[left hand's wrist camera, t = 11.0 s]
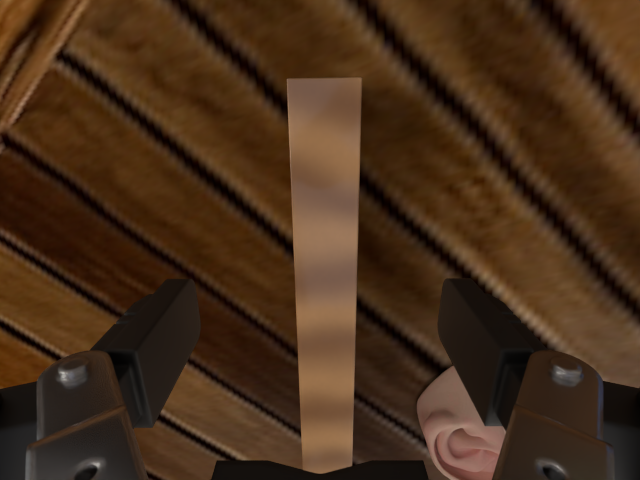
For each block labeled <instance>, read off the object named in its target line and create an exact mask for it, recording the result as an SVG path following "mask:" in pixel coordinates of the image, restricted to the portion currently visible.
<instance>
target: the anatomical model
mask: <svg viewBox="0 0 640 480" xmlns="http://www.w3.org/2000/svg"><path fill="white" fill-rule="evenodd" d="M417 413H418V418H419V422H420V426H421V429H422V432H423V434H424V437H425V439H426V442H427V446H428V450H429V453H430V456H431V458H432V460H433V462H434V464H435V466H436V467H437V468H438V469H439V471H440V472H441V473H443V474H444V475H445V476H446V477H448V478H449V479H451V480H492V477H493V474H494V470H495V467H496V464H497V460H498V457H499V454H500V450H501V447H502V444H503V441H504V437H505V434H506V431H505V429H504V428H503V426H484V424H483V422H482V420H481V418H480V416H479V414H478V412H477V410H476V408H475V406H474V404H473V402H472V400H471V398H470V397H469V395H468V393H467V391H466V389H465V387H464V385H463V383H462V381H461V379H460V377H459V375H458V373H457V371H456V369H455V367H454V365H453V366H451V367H450V368H448V369H447V370H446V371H444V372H443V373H442V374H441V375H440V376H439V377H437V378H436V379H435V380H434V381H433V382H432V383H431V384H430V385H429V386H428V387H427V388H426V389H425V391H424V392H423V393H422V394H421V396H420V397H419V399H418V402H417Z"/></svg>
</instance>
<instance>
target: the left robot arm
mask: <svg viewBox="0 0 640 480" xmlns="http://www.w3.org/2000/svg"><path fill="white" fill-rule="evenodd" d="M438 333H439V337H440V340H441V342H442V344H443V346H444V348H445V350H446V352H447V354H448V356H449V358H450V360H451V362H452V364H453V365H454V367H455V369H456V371H457V373H458V375H459V377H460V379H461V381H462V383H463V385H464V387H465V389H466V391H467V393H468V395H469V397H470V398H471V400H472V402H473V404H474V406H475V408H476V410H477V412H478V414H479V416H480V418H481V420H482V422H483V424H484V426H503V428H504V429H505V431H506V434H505V437H504V441H503V444H502V447H501V450H500V454H499V457H498V460H497V464H496V467H495V470H494V474H493V477H492V480H640V388H634V387H630V386H625V385H620V384H615V383H611V382H606V381H603V380H602V378H601V376H600V375H599V374H598V373H597V372H596V371H595V370H594V369H593V368H592V367H591V366H590V365H588V364H587V363H585V362H583V361H581V360H580V359H578V358H575V357H573V356H571V355H568V354H565V353H562V352H557V351H551V350H548V349H547V348H546V347H545V346H544V345H543V344H542V343H541V342H540V341H539V340H538V339H537V338H536V337H535V336H534V335H533V333H532V332H531V331H530V330H529V329H528V328H527V327H526V326H525V325H524V324H523V323H521V321H520V320H519V318H518V317H517V316H516V315H513V312H512V311H511V310H510V309H509V308H508V307H507V306H506V305H505V304H504V302H502V301H500V300H498V299H497V298H495V297H493V296H492V295H490V294H484V293H483V291H482V290H481V289H480V288H479V287H478V286H477V285H476V283H475V282H474V281H473V280H472V279H445V281H444V283H443V288H442V295H441V302H440V309H439V316H438ZM199 335H200V315H199V308H198V301H197V294H196V287H195V283H194V281H193V280H192V279H167V280H166V281H165V282H164V283H163V284H162V285H161V286H160V287H159V288H158V289H157V291H156V292H155V293H154V294H149V295H147V296H146V297H144V298H142V299H140V300H139V301H137V302H135V303H134V304H133V305H132V306H131V307H130V308H129V309H128V310H127V311H126V312H125V315H123V316H122V317H121V318H120V319H119V320H118V321H117V322H116V324H114V325H113V326H112V327H111V328H110V329H109V330H108V331H107V332H106V334H105V335H104V336H103V337H102V338H101V339H100V340H99V341H98V342H97V343H96V344H95V345H94V346H93V347H92V348H91V349H90V350H89V351H83V352H78V353H75V354H72V355H69V356H67V357H64V358H62V359H60V360H59V361H57V362H55V363H53V364H52V365H50V366H49V367H48V368H47V369H46V370H45V371H44V372H43V373H42V374H41V375H40V376H39V378H38V380H37V381H36V382H32V383H27V384H22V385H18V386H13V387H8V388H3V389H0V480H148V477H147V474H146V470H145V467H144V464H143V460H142V457H141V454H140V450H139V447H138V444H137V441H136V437H135V434H134V431H133V429H134V428H152V427H153V426H154V424H155V422H156V420H157V418H158V416H159V414H160V412H161V410H162V408H163V406H164V404H165V403H166V401H167V399H168V397H169V395H170V393H171V391H172V389H173V387H174V385H175V383H176V381H177V380H178V378H179V376H180V374H181V372H182V370H183V368H184V366H185V364H186V362H187V360H188V358H189V357H190V355H191V353H192V351H193V349H194V347H195V345H196V343H197V341H198V339H199ZM211 480H429V479H428V475H427V472H426V469H425V465H424V462H423V461H369V462H365V463H361V464H358V465H354V466H350V467H346V468H342V469H339V470H335V471H331V472H327V473H322V474H318V473H313V472H309V471H305V470H301V469H298V468H294V467H290V466H286V465H282V464H279V463H275V462H271V461H217V462H216V465H215V469H214V472H213V475H212V479H211Z"/></svg>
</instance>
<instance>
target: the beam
mask: <svg viewBox="0 0 640 480" xmlns="http://www.w3.org/2000/svg"><path fill="white" fill-rule="evenodd" d="M287 99H288V123H289V147H290V172H291V196H292V220H293V244H294V268H295V293H296V317H297V341H298V365H299V389H300V414H301V438H302V462H303V470H305V471H309V472H313V473H318V474H322V473H327V472H331V471H335V470H339V469H342V468H346V467H350V466H352V452H353V413H354V374H355V336H356V297H357V258H358V220H359V181H360V142H361V103H362V77H338V78H287Z"/></svg>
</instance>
